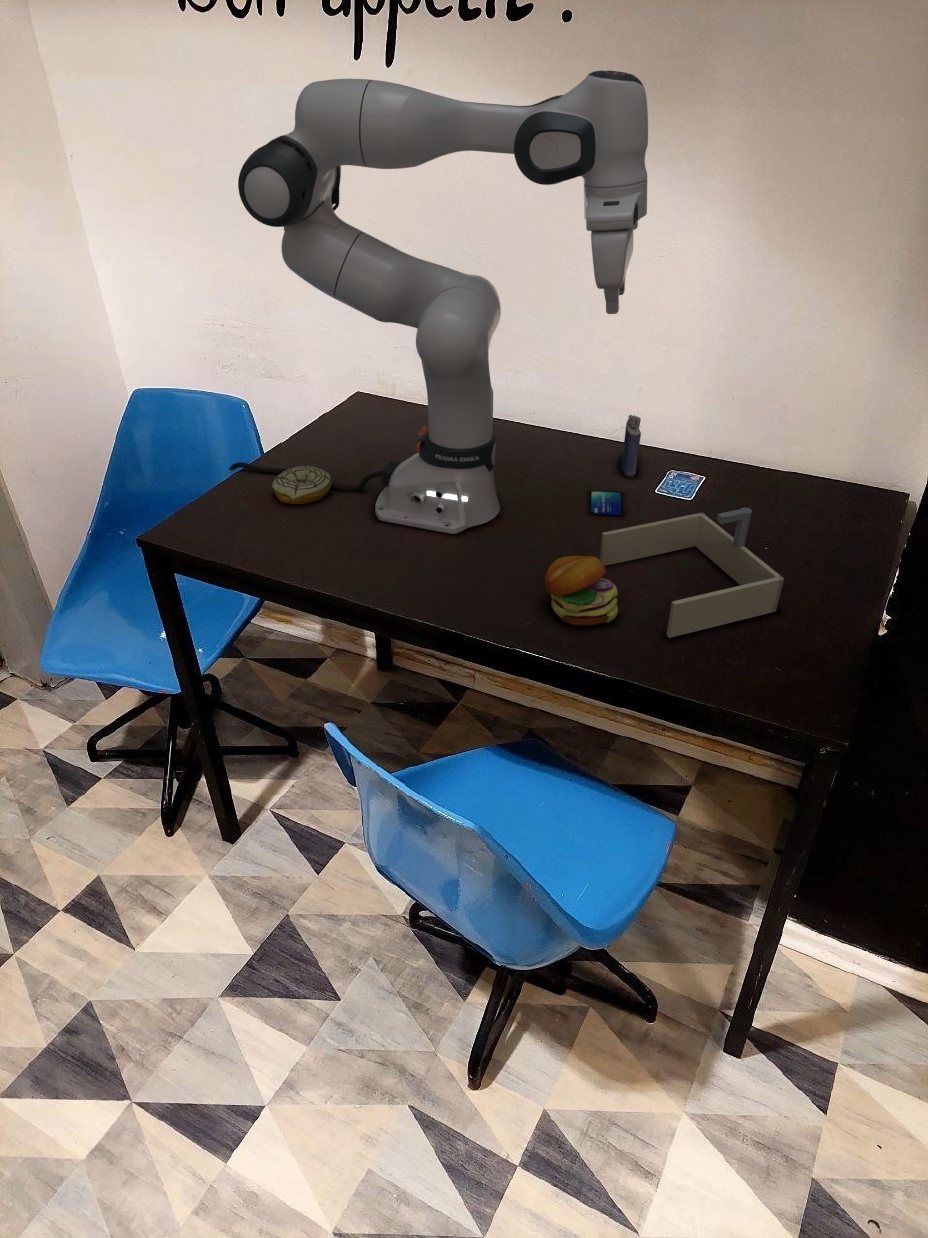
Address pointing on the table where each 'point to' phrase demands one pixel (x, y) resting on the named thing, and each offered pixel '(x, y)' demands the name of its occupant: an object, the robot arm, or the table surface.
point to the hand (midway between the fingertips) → (615, 302)
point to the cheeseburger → (581, 591)
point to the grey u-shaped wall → (716, 544)
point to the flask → (631, 446)
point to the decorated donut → (301, 485)
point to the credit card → (605, 503)
